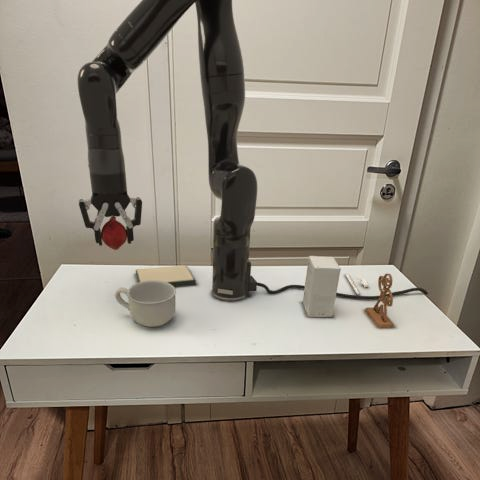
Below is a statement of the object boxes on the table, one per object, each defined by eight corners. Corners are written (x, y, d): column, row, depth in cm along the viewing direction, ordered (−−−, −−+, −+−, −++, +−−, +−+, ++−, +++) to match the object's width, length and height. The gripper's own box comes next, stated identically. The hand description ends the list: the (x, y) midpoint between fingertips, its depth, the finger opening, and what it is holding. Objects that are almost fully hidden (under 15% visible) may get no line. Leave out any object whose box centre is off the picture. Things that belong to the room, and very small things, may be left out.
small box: (332, 317, 106) (341, 268, 100) (307, 317, 106) (314, 267, 99) (325, 302, 113) (333, 256, 107) (302, 302, 113) (308, 255, 106)
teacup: (184, 315, 104) (183, 284, 100) (163, 336, 95) (161, 304, 91) (133, 304, 107) (131, 274, 103) (108, 324, 98) (104, 292, 94)
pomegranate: (121, 255, 99) (118, 221, 95) (98, 252, 100) (94, 218, 96) (132, 247, 104) (129, 214, 100) (109, 244, 105) (106, 212, 101)
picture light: (345, 275, 130) (346, 268, 129) (359, 275, 130) (360, 269, 129) (356, 295, 118) (358, 288, 117) (372, 296, 118) (374, 289, 117)
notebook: (187, 270, 128) (187, 264, 127) (195, 285, 119) (195, 279, 118) (135, 274, 124) (135, 268, 123) (140, 290, 115) (140, 284, 114)
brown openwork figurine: (393, 327, 103) (405, 281, 97) (378, 328, 102) (389, 282, 97) (378, 310, 111) (388, 266, 105) (364, 310, 110) (373, 267, 104)
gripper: (72, 173, 88) (83, 251, 96) (143, 172, 92) (148, 246, 100) (72, 166, 94) (82, 240, 102) (138, 165, 98) (143, 236, 106)
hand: (115, 243), depth 101 cm, fingers closed on pomegranate, 6 cm apart
